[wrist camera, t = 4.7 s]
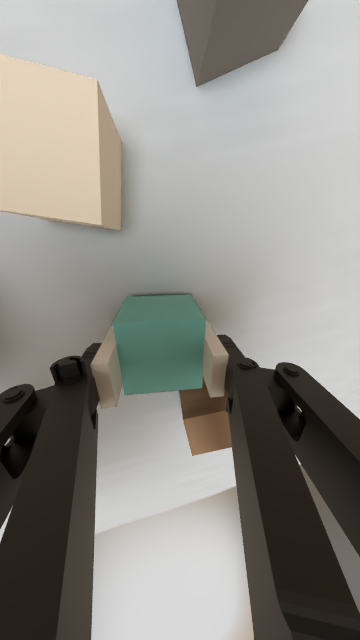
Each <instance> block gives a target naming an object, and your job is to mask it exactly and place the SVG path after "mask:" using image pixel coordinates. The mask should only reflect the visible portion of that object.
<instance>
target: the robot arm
mask: <svg viewBox="0 0 360 640" xmlns="http://www.w3.org/2000/svg"><path fill="white" fill-rule="evenodd" d="M50 370H51V373H52V376H53V379H54V381H55V385H54V386H51V387H48V388H44V389H41V390H37V391H35V389H34V387H33V386H32V385H30V384H23V385H18V386H14V387H12V388H9V389H8V390H6V391H4V392H2V393H1V394H0V529H1V527H2V525H3V523H4V521H5V519H6V517H7V516H8V514H9V512H10V510H11V508H12V510H11V513H10V516H9V519H8V522H7V525H6V528H5V531H4V534H3V537H2V540H1V542H0V640H91V625H92V590H93V562H94V530H95V498H96V467H97V435H98V413H97V409H96V408H97V405H98V403H99V401H100V405H101V408H109V407H116V406H117V402H118V398H119V394H120V390H121V386H122V382H123V380H122V374H121V368H120V362H119V356H118V351H117V345H116V340H115V334H114V328H113V324H112V326H111V327H110V329H109V331H108V333H107V335H106V337H105V339H104V340H103V342H102V343H93V344H92V345H91V346H89V347H88V348H87V349H86V350H85V352H84V354H83V355H82V357H80V356H69V357H65V358H62V359H60V360H58V361H56V362H55V363H54V364H52V365H51V367H50ZM202 374H203V377H204V380H205V383H206V386H207V389H208V392H209V395H210V398H211V397H221V396H224V389H225V390H226V392H227V394H228V396H227V404H226V412H227V413H228V417H229V425H230V434H231V442H232V451H233V459H234V468H235V476H236V485H237V493H238V502H239V510H240V519H241V527H242V536H243V543H244V544H243V545H244V553H245V561H246V570H247V578H248V587H249V595H250V604H251V613H252V621H253V631H254V640H360V613H359V611H358V609H357V607H356V604H355V602H354V599H353V597H352V594H351V592H350V589H349V587H348V585H347V582H346V579H345V577H344V575H343V572H342V570H341V567H340V565H339V562H338V560H337V557H336V555H335V553H334V550H333V547H332V545H331V542H330V540H329V538H328V535H327V533H326V530H325V528H324V525H323V523H322V521H321V518H320V515H319V513H318V511H317V508H316V506H315V503H314V501H313V498H312V496H311V493H310V491H309V488H308V486H307V484H306V481H305V478H304V476H303V473H302V471H301V469H300V466H299V464H298V461H297V459H296V457H297V458H298V460H299V461H300V463H301V465H302V466H303V468H304V469H305V471H306V472H307V474H308V476H309V477H310V479H311V480H312V482H313V483H314V485H315V487H316V488H317V490H318V491H319V493H320V495H321V496H322V498H323V499H324V501H325V502H326V504H327V506H328V507H329V509H330V510H331V512H332V514H333V515H334V517H335V518H336V520H337V522H338V523H339V525H340V526H341V528H342V529H343V531H344V533H345V534H346V536H347V537H348V539H349V540H350V542H351V544H352V545H353V547H354V548H355V550H356V552H357V553H358V555H359V556H360V419H359V418H357V417H356V416H355V415H354V414H353V413H352V412H351V411H350V410H349V409H347V408H346V407H345V406H344V405H343V404H342V403H341V402H340V401H338V400H337V399H336V398H335V397H334V396H333V395H332V394H331V393H330V392H328V391H327V390H326V389H325V388H324V387H323V386H322V385H321V384H320V383H318V382H317V381H316V380H315V379H314V378H313V377H312V376H311V375H309V374H308V373H307V372H306V371H305V370H304V369H302V368H301V367H300V366H297V365H295V364H292V363H287V362H282V363H278V364H277V365H276V369H275V370H273V369H266V368H260V367H259V365H258V364H257V363H256V362H255V361H253V360H251V359H249V358H245V357H244V356H243V354H242V353H241V351H240V350H239V349H238V347H236V345H235V343H234V342H233V341H232V339H231V338H229V337H228V336H226V335H216V334H215V332H214V330H213V329H212V327H211V326H210V324H209V322H208V321H207V319H206V329H205V337H204V353H203V372H202ZM297 406H298V407H299V408H300V409H301V410H302V412H301V411H300V410H299V409H298V407H297ZM9 438H11V440H10V441H9V443H8V444H7V445H6V446H4V445H5V443H6V442H7V441H8V439H9ZM294 453H295V454H294ZM295 455H296V456H295ZM12 506H13V507H12Z"/></svg>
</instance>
